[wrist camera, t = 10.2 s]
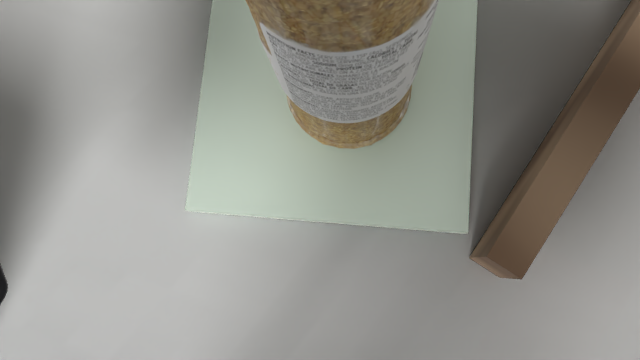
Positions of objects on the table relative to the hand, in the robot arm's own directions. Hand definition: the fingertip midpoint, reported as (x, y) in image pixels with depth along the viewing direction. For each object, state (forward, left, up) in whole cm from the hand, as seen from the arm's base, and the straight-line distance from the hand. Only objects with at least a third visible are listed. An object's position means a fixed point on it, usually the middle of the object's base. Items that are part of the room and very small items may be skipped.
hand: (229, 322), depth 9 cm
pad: (+8, -1, -9) cm, 12 cm away
